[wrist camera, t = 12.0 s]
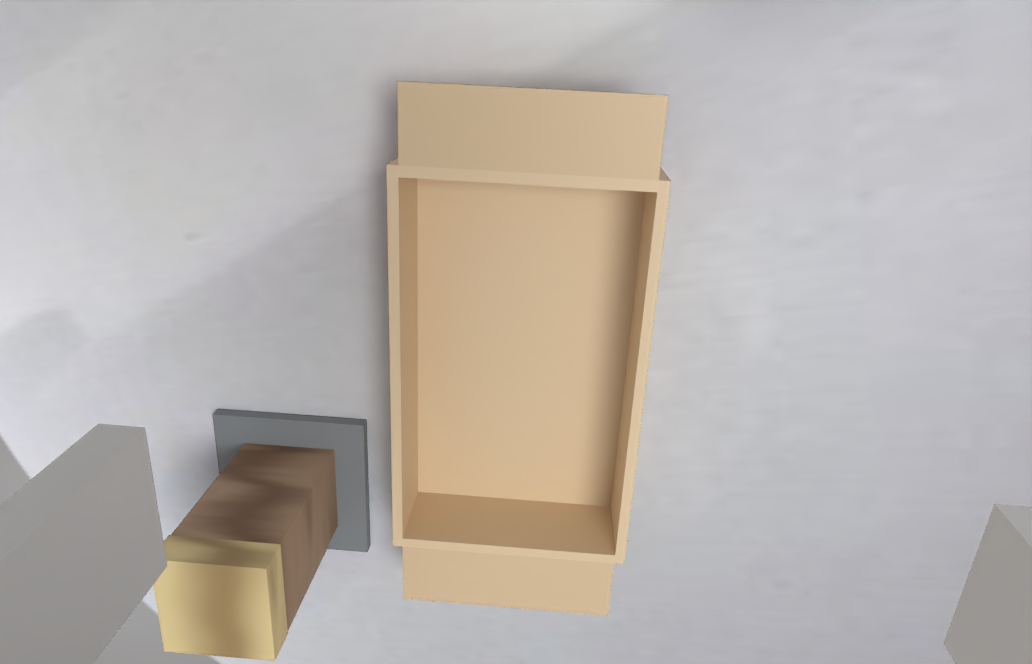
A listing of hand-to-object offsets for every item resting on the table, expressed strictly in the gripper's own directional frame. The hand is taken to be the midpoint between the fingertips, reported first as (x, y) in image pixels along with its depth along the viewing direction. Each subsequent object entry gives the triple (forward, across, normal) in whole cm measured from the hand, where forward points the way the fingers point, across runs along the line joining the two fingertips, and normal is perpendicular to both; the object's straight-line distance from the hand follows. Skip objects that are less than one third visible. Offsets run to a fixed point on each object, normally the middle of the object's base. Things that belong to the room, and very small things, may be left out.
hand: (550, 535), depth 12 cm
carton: (+33, -2, -11) cm, 35 cm away
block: (+31, -17, -22) cm, 42 cm away
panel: (+32, -17, -22) cm, 43 cm away
